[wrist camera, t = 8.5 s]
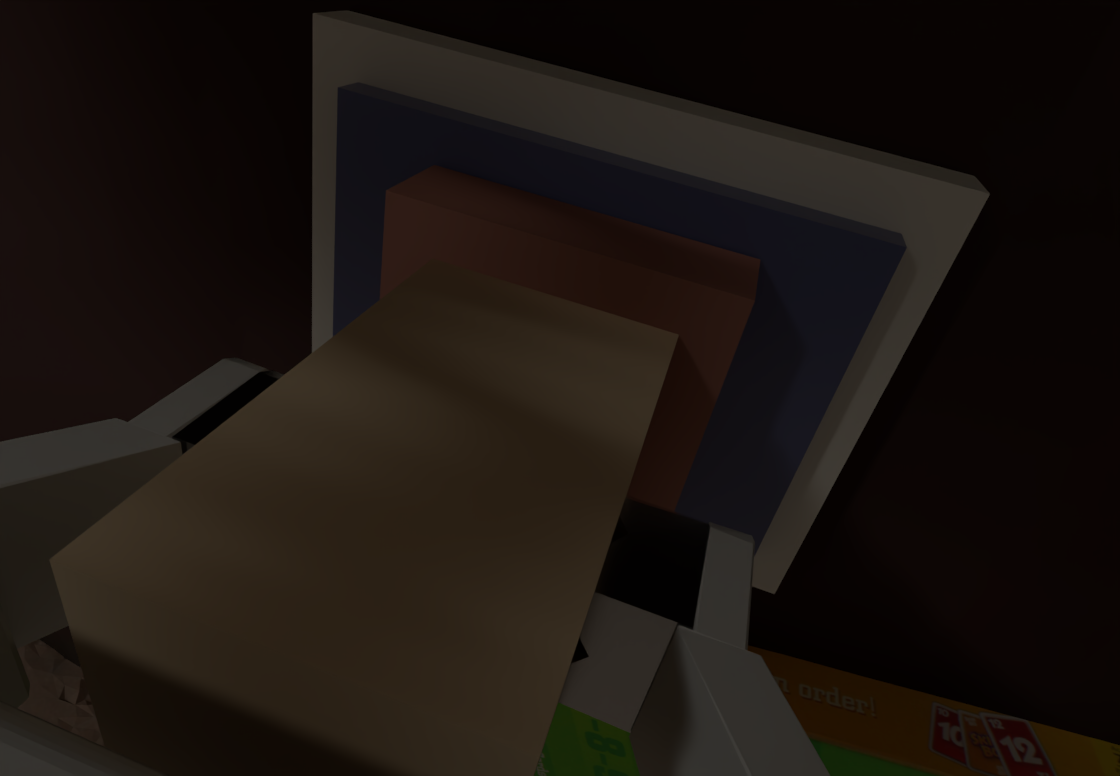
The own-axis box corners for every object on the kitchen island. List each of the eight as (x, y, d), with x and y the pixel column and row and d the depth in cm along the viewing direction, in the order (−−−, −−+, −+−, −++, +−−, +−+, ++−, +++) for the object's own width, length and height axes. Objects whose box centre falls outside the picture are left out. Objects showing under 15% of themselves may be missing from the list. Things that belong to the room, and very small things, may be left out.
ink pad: (337, 405, 16) (295, 444, 15) (347, 10, 12) (289, 15, 10) (775, 558, 15) (773, 618, 13) (974, 176, 10) (1000, 206, 9)
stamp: (409, 426, 13) (72, 821, 7) (434, 164, 11) (-78, 435, 4) (664, 515, 13) (535, 1036, 6) (760, 259, 10) (695, 736, 4)
